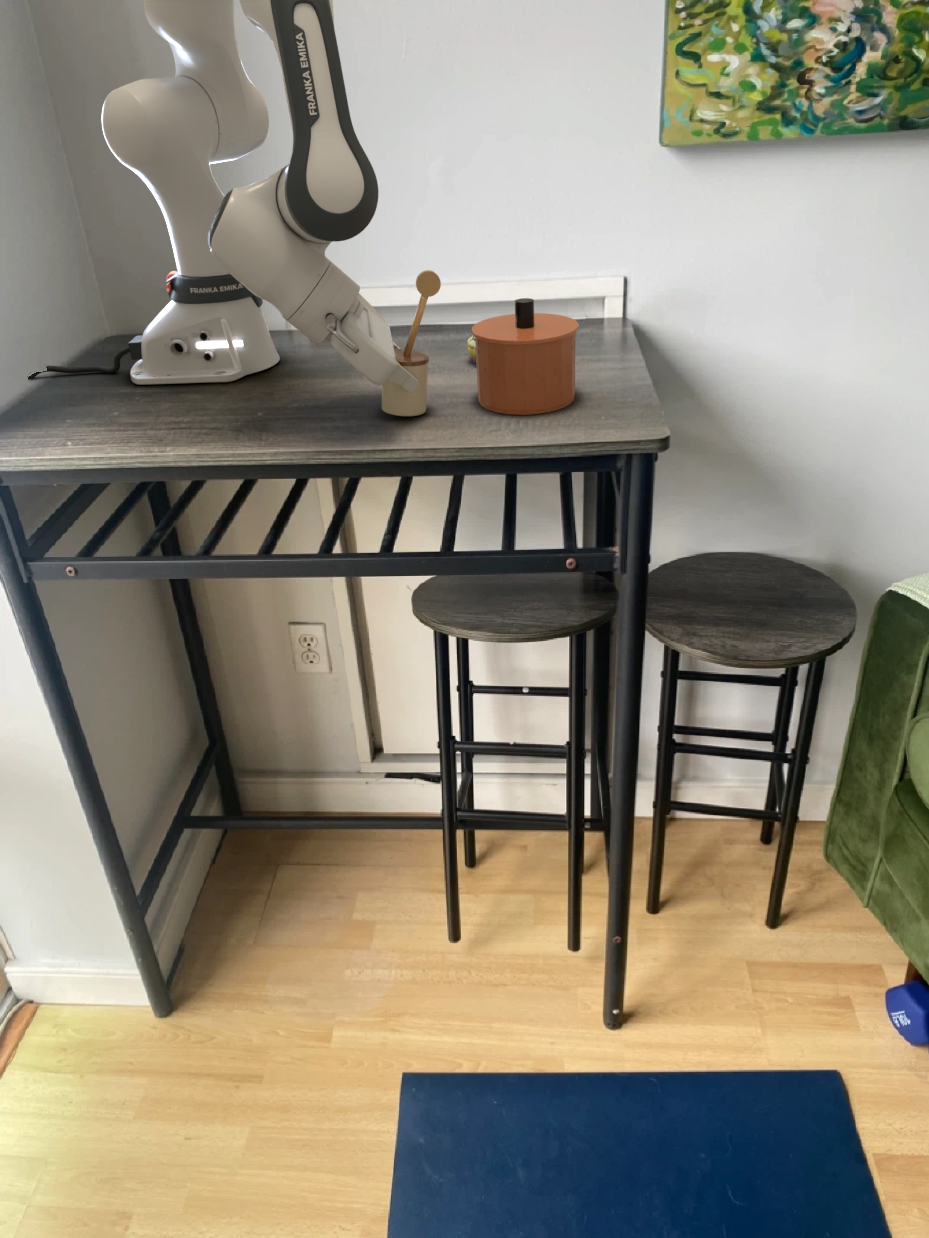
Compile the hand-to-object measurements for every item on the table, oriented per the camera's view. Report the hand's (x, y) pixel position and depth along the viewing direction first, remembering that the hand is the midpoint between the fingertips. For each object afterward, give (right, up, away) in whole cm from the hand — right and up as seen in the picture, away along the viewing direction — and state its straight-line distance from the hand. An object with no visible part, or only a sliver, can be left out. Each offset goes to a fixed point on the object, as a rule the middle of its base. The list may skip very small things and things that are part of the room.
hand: (413, 378), depth 121 cm
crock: (-1, -3, +2) cm, 4 cm away
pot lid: (+14, +6, 0) cm, 15 cm away
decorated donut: (+12, +8, +21) cm, 25 cm away
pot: (+15, -2, +4) cm, 15 cm away
